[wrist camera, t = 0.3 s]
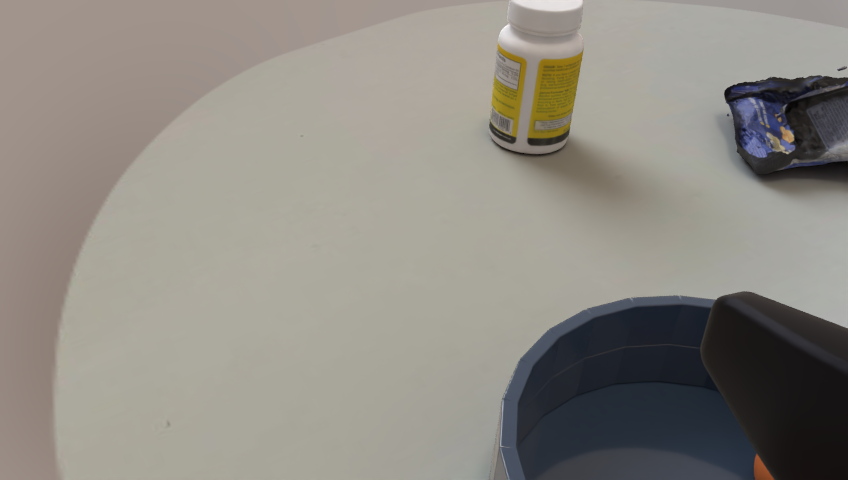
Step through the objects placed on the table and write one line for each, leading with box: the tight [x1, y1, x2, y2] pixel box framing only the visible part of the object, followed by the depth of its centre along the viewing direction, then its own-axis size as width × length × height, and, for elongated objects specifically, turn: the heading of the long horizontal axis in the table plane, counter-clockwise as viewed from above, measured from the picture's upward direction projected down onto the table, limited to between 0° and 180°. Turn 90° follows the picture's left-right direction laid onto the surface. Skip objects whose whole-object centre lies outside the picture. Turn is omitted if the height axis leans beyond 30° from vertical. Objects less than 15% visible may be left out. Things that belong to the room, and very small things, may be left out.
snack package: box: [724, 66, 848, 174], centre depth 45 cm, size 12×6×12 cm
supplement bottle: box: [489, 0, 584, 154], centre depth 44 cm, size 5×5×8 cm
